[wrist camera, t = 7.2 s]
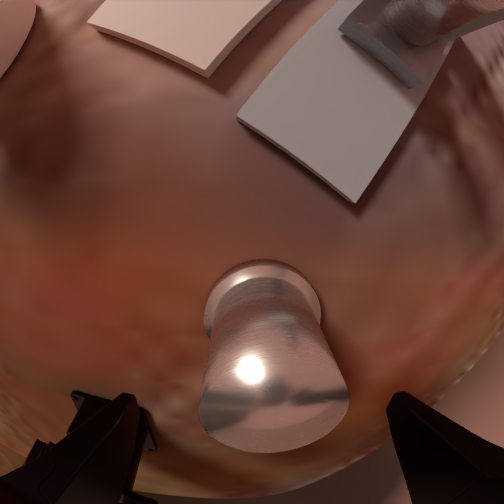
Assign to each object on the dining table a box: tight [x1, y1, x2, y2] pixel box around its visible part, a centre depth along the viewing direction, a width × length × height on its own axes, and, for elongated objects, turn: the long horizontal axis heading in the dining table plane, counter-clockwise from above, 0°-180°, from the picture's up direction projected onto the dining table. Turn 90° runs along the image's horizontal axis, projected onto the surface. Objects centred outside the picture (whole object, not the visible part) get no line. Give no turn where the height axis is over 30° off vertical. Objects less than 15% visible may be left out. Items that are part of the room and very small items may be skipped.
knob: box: [199, 259, 350, 453], centre depth 11 cm, size 6×6×7 cm
